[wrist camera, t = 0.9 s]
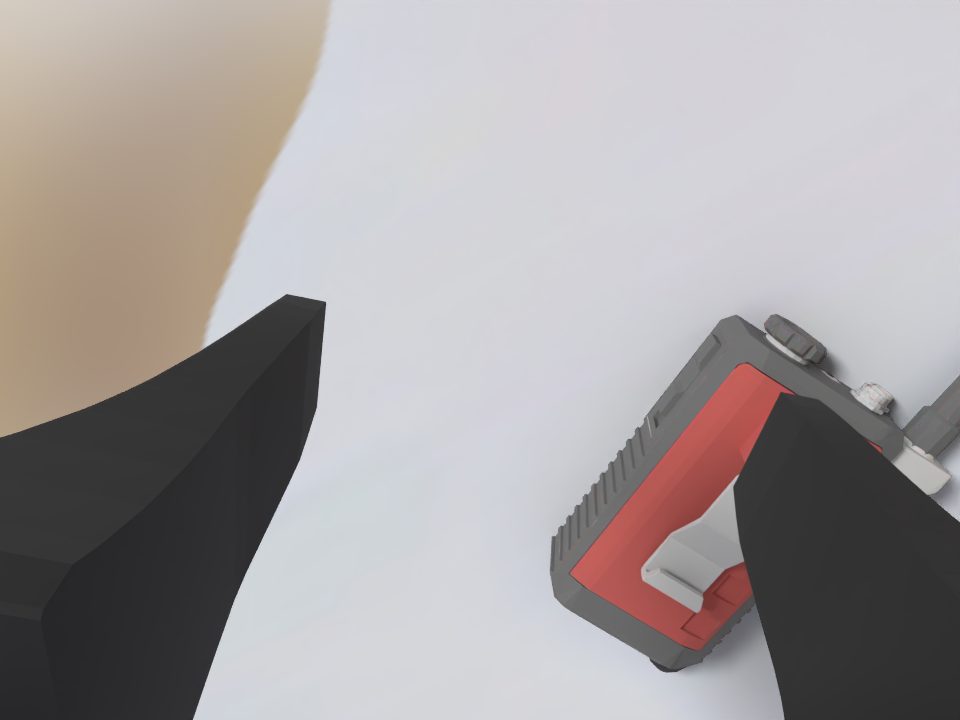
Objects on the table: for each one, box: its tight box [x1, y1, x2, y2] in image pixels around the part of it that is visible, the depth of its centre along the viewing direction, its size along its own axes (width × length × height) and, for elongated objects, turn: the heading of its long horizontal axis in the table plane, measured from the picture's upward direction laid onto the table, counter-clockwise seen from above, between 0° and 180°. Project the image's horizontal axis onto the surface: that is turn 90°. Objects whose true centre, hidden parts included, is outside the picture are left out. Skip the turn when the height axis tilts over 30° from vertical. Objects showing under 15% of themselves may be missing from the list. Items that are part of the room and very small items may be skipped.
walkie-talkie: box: [550, 314, 960, 672], centre depth 25 cm, size 9×4×20 cm
